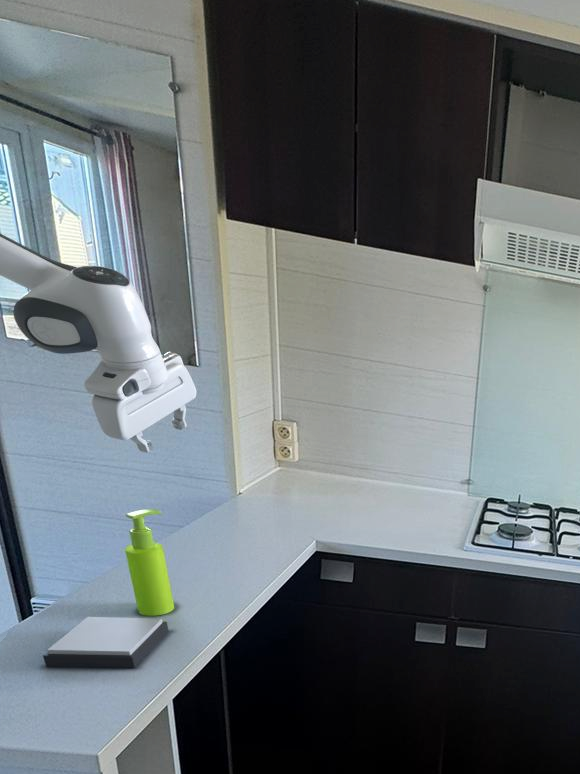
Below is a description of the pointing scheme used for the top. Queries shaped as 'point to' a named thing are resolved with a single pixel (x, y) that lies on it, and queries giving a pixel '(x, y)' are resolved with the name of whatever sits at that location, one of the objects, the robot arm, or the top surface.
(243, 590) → the top surface
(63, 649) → the kitchen scale
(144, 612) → the soap dispenser
